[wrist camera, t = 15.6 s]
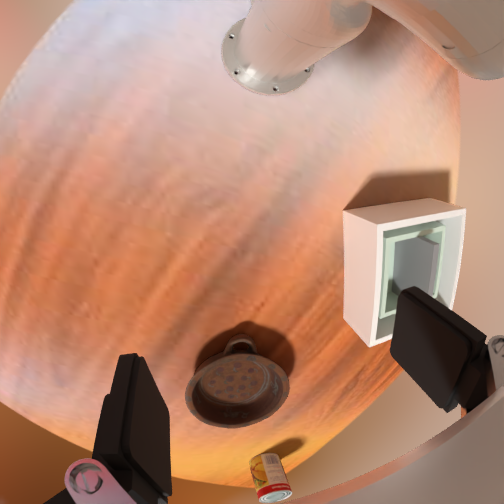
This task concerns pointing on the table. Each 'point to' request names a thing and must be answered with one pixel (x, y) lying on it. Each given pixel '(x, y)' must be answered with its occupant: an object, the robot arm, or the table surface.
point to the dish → (236, 387)
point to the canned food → (269, 478)
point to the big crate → (371, 255)
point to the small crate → (410, 262)
